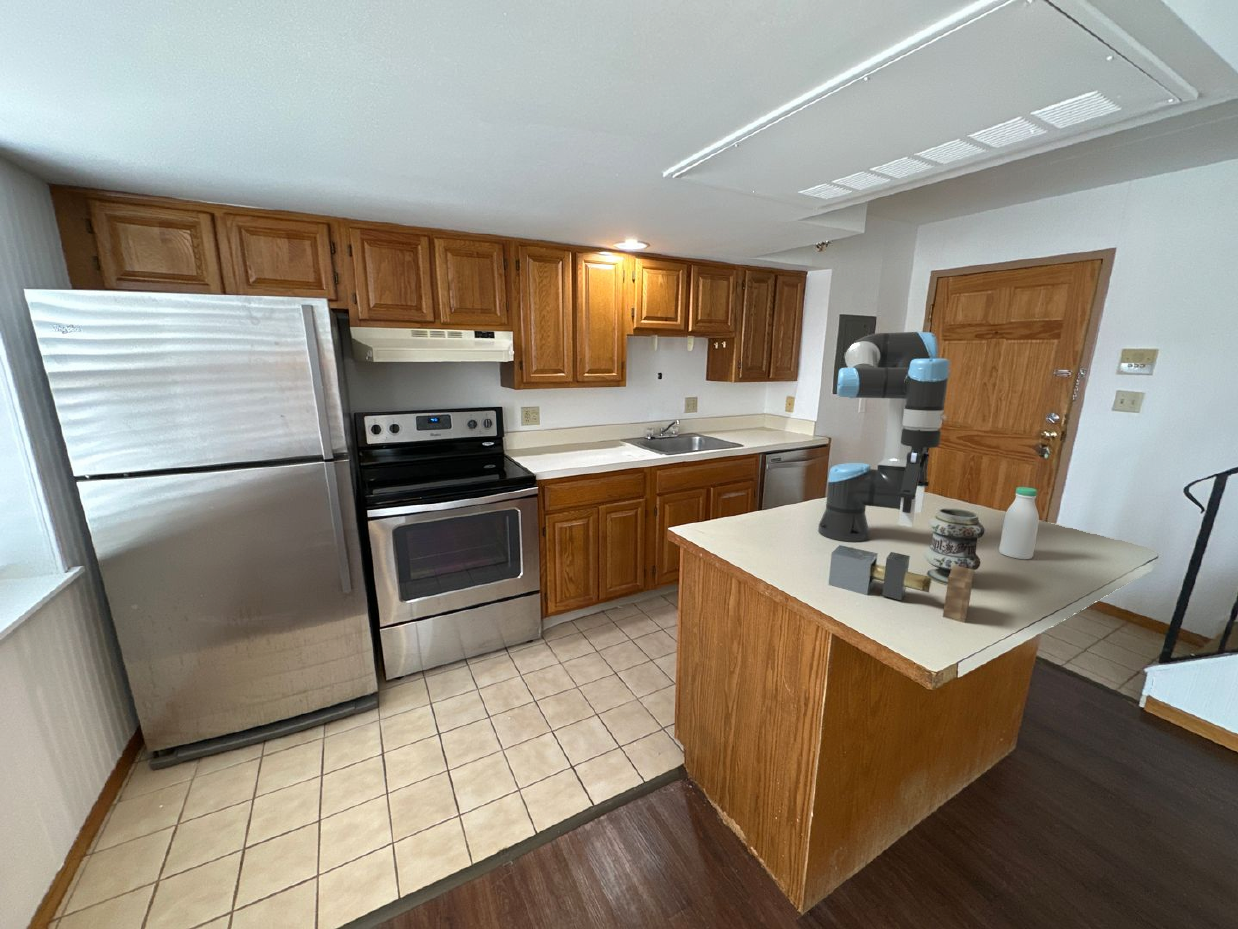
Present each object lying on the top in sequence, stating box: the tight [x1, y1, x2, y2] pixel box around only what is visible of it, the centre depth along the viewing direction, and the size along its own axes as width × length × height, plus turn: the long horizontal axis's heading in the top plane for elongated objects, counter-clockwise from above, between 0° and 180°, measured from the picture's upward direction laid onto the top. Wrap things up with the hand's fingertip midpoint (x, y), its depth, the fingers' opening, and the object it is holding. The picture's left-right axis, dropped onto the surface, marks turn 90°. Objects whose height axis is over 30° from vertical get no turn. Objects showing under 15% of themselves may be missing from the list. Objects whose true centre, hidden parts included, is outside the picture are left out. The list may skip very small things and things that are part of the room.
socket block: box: [942, 565, 975, 623], centre depth 109 cm, size 4×8×10 cm, turn 140°
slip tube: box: [870, 551, 933, 601], centre depth 118 cm, size 20×5×10 cm, turn 50°
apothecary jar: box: [923, 507, 986, 586], centre depth 125 cm, size 12×12×18 cm
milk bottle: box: [998, 486, 1040, 560], centre depth 140 cm, size 8×8×20 cm
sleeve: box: [828, 544, 879, 596], centre depth 122 cm, size 9×7×8 cm
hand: (910, 518), depth 114 cm, fingers open, 13 cm apart
